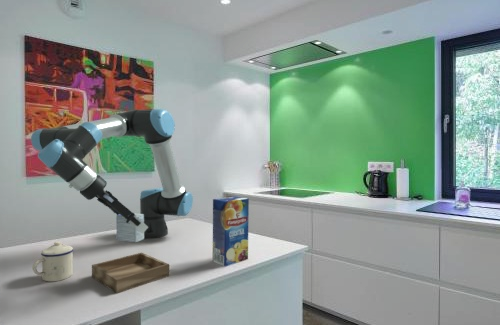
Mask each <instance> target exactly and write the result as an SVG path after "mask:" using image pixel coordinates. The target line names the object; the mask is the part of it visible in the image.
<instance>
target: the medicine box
mask: <svg viewBox="0 0 500 325" xmlns="http://www.w3.org/2000/svg"><path fill="white" fill-rule="evenodd" d="M133 213H134V214H135V216H136V217H137V218H139V219H140V220H141V221H142V222H143V223H144V214H140V213H137V212H133ZM115 219H116V225H115V226H116V241H121V242H129V243H138V242H140V241H144V239H145V238H144V233H143V234H142V233H141V232H140V231H139V230H137V229H136V228H135V227H134V226H133V225H132V224H130V223H129V222H128V223H126V221H127V219H125V218H124V217H123V216H122V215H120V214H118V215H117V214H116V218H115Z"/></svg>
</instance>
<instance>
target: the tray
mask: <svg viewBox="0 0 500 325" xmlns="http://www.w3.org/2000/svg"><path fill="white" fill-rule="evenodd" d="M91 277H92V278H93V279H94V280H96V281H98V282H100V283H101V284H102V285H103V286H104V287H106V288H108V289H110V290H111V291H113V292H114V293H116V294H119V293H122V292H125V291H127V290H133V289H134V288H138V287H141V286H143V285H147V284H149V283H152V282H155V281H158V280H162V279H164V278H168V277H170V264H169V263H167V262H165V261H163V260H160V259H158V258H155V257H153V256H152V255H148V254H146V253H144V252H139V253H134V254H130V255H126V256H123V257H118V258H115V259H110V260H105V261H102V262H99V263H94V264H92V265H91Z"/></svg>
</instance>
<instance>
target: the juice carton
mask: <svg viewBox="0 0 500 325" xmlns="http://www.w3.org/2000/svg"><path fill="white" fill-rule="evenodd" d="M249 200H250V199H249V198H247V197H241V196H229V197H221V198H213V199H212V262H213V263H216V264H218V265H221V266H223V267H227V266H231V265H234V264H237V263H240V262H243V261H246V260H249V211H250V210H249V204H250V203H249Z"/></svg>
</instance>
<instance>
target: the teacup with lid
mask: <svg viewBox="0 0 500 325" xmlns="http://www.w3.org/2000/svg"><path fill="white" fill-rule="evenodd" d="M73 253H74V248H73V247H72V246H71V245H66V244H64V243H63V244H62V241H59V240H58V241H55V242H54V243H53V244H52V245H51V246H48V247H47V248H45V249H43V250H42V251H41V254H40V255H41V257H42V258H40V259H38V260H36V261H35V262H34V263H33V264H32V270H33V273H34V274H35V275H38V276H42V277H41V278H42V281H45V282H58V281H59V282H60V281H64V280H66V279H68V278H71V277H72V275H73V273H74V272H73V271H74V269H73V268H74V267H73V264H74V262H73V261H74V260H73V259H74V257H73ZM40 263H42V264H41V265H42V266H41V268H42V269H41V271H40V272H39V271H38V269H37V267H38V265H39V264H40Z"/></svg>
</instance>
